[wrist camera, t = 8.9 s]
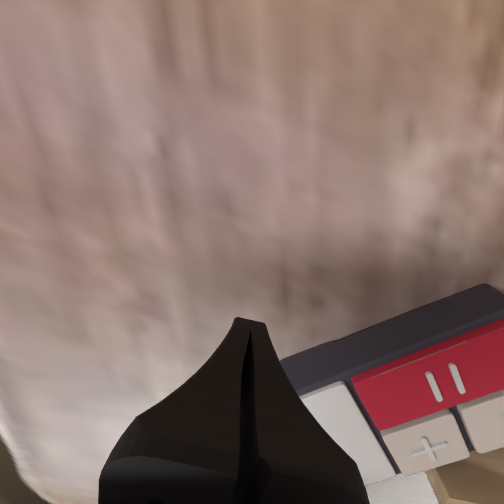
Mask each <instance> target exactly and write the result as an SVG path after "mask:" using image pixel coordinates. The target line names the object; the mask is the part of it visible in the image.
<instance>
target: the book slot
mask: <svg viewBox="0 0 504 504" xmlns="http://www.w3.org/2000/svg"><path fill="white" fill-rule="evenodd" d="M469 454H470V456H469V457H468V458H466V459H462V460H459V461H456V462H453V463H449V464H446V465H443V466H439V467H436V468H433V469H429V470H426V471H425V473H426V475H427V477H428V480H429V482H430V484H431V486H432V488H433V491H434V493H435V495H436V497H437V500H438V502H439V504H504V447H502V448H499V449H495V450H492V451H489V452H486V453H478V452H477V451H476V450H474V451H471V452H469Z"/></svg>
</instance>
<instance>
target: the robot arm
mask: <svg viewBox="0 0 504 504" xmlns="http://www.w3.org/2000/svg"><path fill="white" fill-rule="evenodd" d="M98 504H370V503H369V500H368V496H367V492H366V488H365V485H364V482H363V479H362V477H361V474H360V471H359V469H358V466H357V463H356V462H355V461H354V460H353V459H352V458H351V457H350V456H349V455H348V454H347V453H346V452H345V451H344V450H343V449H342V448H341V447H340V446H339V445H338V444H337V443H336V442H335V441H334V440H333V439H332V438H331V437H330V435H329V434H328V433H327V432H326V431H325V430H324V429H323V428H322V426H321V425H320V424H319V423H318V422H317V420H316V419H315V418H314V416H313V415H312V414H311V412H310V411H309V410H308V409H307V407H306V406H305V405H304V403H303V402H302V400H301V399H300V397H299V396H298V394H297V393H296V391H295V389H294V388H293V386H292V384H291V383H290V381H289V379H288V377H287V375H286V373H285V371H284V370H283V368H282V365H281V363H280V361H279V359H278V357H277V354H276V352H275V350H274V347H273V345H272V342H271V339H270V337H269V334H268V330H267V327H266V325H265V323H262V322H257V321H253V320H249V319H244V318H240V317H236V318H234V322H233V324H232V327H231V329H230V330H229V332H228V334H227V335H226V337H225V338H224V340H223V341H222V343H221V344H220V346H219V347H218V348H217V350H216V351H215V352H214V353H213V354H212V356H211V357H210V358H209V359H208V360H207V362H206V363H205V364H204V365H203V366H202V367H201V368H200V369H199V370H198V371H197V372H196V373H195V374H194V375H193V376H192V377H191V378H189V379H188V380H187V381H186V382H185V383H184V384H183V385H181V386H180V387H179V388H178V389H176V390H175V391H174V392H172V393H171V394H170V395H169V396H167V397H166V398H165V399H163V400H162V401H160V402H159V403H157V404H156V405H154V406H153V407H151V408H150V409H148V410H146V411H145V412H143V413H142V414H140V415H138V416H137V417H136V418H135V419H134V420H133V422H132V423H131V424H130V425H129V427H128V428H127V429H126V431H125V432H124V433H123V435H122V436H121V437H120V439H119V440H118V442H117V443H116V445H115V447H114V448H113V450H112V452H111V453H110V455H109V457H108V459H107V461H106V463H105V465H104V467H103V469H102V471H101V474H100V478H99V495H98Z"/></svg>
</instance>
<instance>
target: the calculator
mask: <svg viewBox="0 0 504 504" xmlns="http://www.w3.org/2000/svg"><path fill="white" fill-rule="evenodd" d="M280 363H281V365H282V368H283V370H284V371H285V373H286V375H287V377H288V379H289V381H290V383H291V384H292V386H293V388H294V389H295V391H296V393H297V394H298V396H299V397H300V399H301V400H302V402H303V403H304V405H305V406H306V407H307V409H308V410H309V411H310V412H311V414H312V415H313V416H314V418H315V419H316V420H317V422H318V423H319V424H320V425H321V426H322V428H323V429H324V430H325V431H326V432H327V433H328V434H329V435H330V437H331V438H332V439H333V440H334V441H335V442H336V443H337V444H338V445H339V446H340V447H341V448H342V449H343V450H344V451H345V452H346V453H347V454H348V455H349V456H350V457H351V458H352V459H353V460H354V461H355V462H356V463H357V466H358V469H359V471H360V474H361V477H362V479H363V482H364V485H365V486H366V485H370V484H373V483H376V482H379V481H383V480H386V479H389V478H392V477H395V476H396V474H399V473H402V474H403V475H404V476H410V475H413V474H416V473H420V472H423V471H426V470H429V469H433V468H436V467H439V466H443V465H446V464H449V463H453V462H456V461H459V460H462V459H466V458H468V457H469V456H470V454H469V452H471V451H474V450H476V451H477V452H478V453H486V452H489V451H492V450H495V449H499V448H502V447H504V294H502V293H500V292H499V291H497V290H496V289H494V288H492V287H491V286H489V285H488V284H480V285H477V286H475V287H472V288H469V289H467V290H464V291H462V292H459V293H456V294H454V295H451V296H448V297H446V298H443V299H440V300H438V301H435V302H432V303H430V304H427V305H425V306H422V307H419V308H417V309H414V310H411V311H409V312H406V313H404V314H401V315H399V316H396V317H394V318H392V319H389V320H387V321H384V322H382V323H380V324H377V325H375V326H372V327H370V328H368V329H365V330H363V331H360V332H358V333H356V334H353V335H351V336H348V337H346V338H343V339H341V340H338V341H336V342H326V343H324V344H321V345H318V346H316V347H313V348H310V349H308V350H305V351H302V352H300V353H297V354H294V355H292V356H289V357H286V358H284V359H282V360H281V361H280Z"/></svg>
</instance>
